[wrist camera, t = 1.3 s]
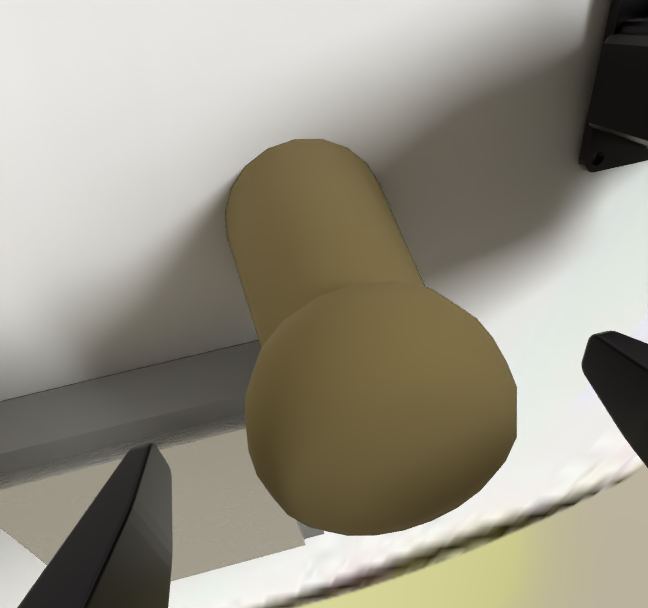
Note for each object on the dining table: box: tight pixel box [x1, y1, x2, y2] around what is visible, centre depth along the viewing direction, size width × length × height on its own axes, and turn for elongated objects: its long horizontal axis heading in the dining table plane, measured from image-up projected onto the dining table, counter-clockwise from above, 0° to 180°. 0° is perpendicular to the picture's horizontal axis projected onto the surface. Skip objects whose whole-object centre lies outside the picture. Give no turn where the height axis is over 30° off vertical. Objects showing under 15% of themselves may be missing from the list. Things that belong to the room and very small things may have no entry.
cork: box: [225, 139, 517, 536], centre depth 11 cm, size 6×6×11 cm
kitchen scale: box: [0, 340, 324, 581], centre depth 20 cm, size 13×12×4 cm
